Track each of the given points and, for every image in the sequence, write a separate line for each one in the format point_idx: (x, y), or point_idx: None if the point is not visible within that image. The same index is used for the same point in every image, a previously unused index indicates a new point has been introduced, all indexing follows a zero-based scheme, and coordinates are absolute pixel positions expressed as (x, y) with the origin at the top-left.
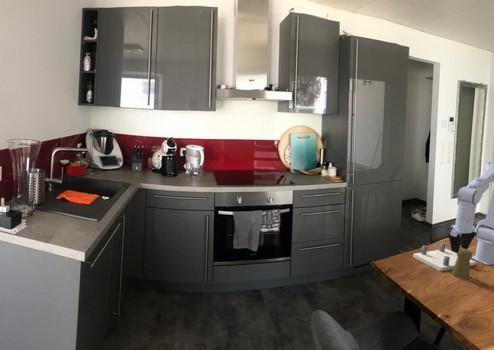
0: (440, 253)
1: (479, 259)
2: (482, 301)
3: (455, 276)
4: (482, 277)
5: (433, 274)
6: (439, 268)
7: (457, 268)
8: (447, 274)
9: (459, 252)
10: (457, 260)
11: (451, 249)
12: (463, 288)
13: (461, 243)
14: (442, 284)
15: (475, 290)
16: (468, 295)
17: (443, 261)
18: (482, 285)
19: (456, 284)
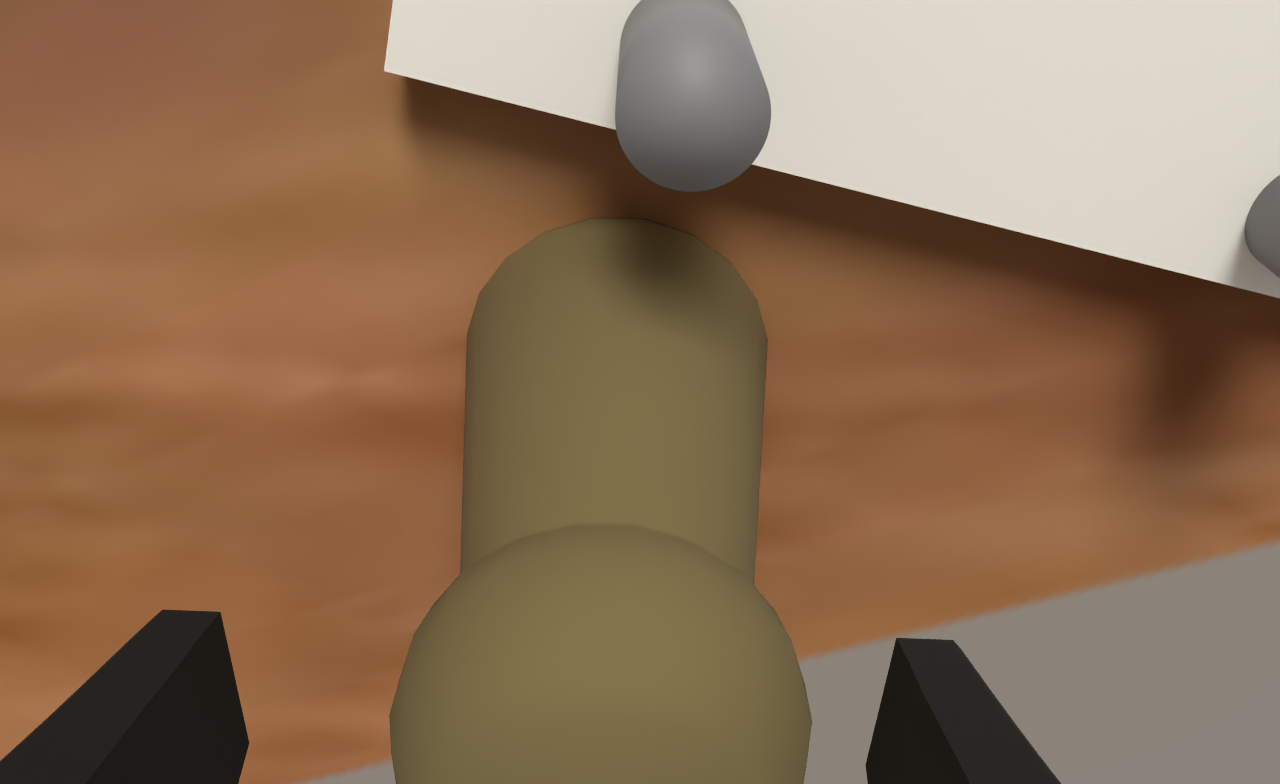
0: None
1: None
2: None
3: (470, 331)
4: (887, 565)
5: (89, 39)
6: (398, 24)
7: (465, 428)
8: (409, 206)
9: (398, 723)
10: (487, 496)
11: (115, 655)
12: (176, 558)
13: (942, 751)
14: None
15: (304, 654)
16: (53, 659)
17: (646, 14)
18: None
19: (186, 458)
